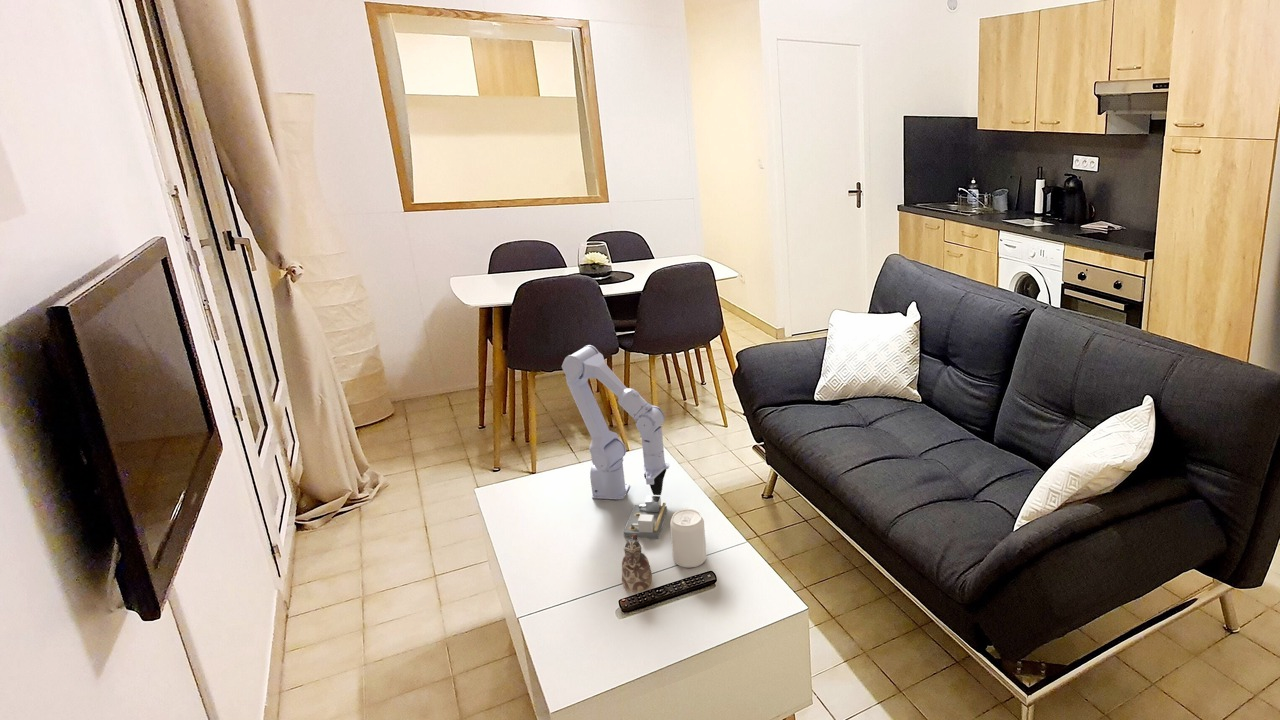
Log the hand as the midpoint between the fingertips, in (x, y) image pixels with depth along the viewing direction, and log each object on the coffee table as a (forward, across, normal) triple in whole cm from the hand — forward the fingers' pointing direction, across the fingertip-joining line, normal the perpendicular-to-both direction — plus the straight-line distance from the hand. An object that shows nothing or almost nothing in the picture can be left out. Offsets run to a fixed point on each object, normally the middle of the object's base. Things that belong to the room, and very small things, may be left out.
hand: (657, 493), depth 194 cm
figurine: (+3, -34, -2) cm, 34 cm away
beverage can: (+3, -24, -13) cm, 28 cm away
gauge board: (+3, -10, +1) cm, 11 cm away
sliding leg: (+1, -6, +1) cm, 6 cm away
